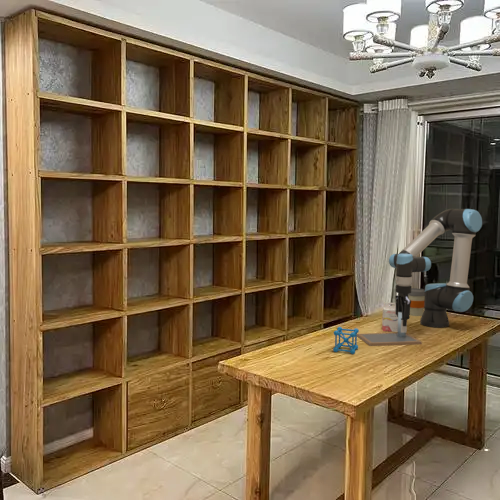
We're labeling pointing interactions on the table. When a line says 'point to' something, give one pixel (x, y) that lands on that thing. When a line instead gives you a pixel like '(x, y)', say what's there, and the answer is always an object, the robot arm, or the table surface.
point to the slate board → (387, 339)
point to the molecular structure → (346, 340)
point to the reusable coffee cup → (416, 301)
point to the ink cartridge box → (389, 317)
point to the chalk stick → (400, 326)
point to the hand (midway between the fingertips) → (401, 331)
